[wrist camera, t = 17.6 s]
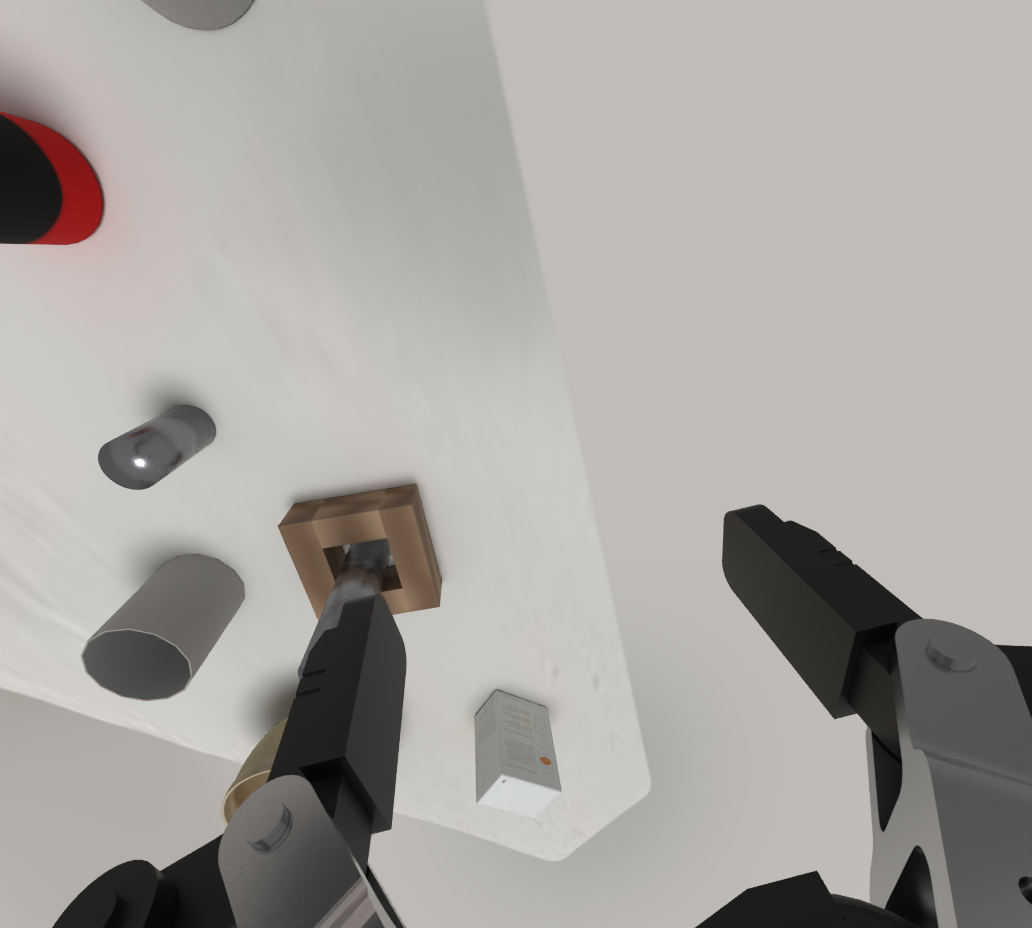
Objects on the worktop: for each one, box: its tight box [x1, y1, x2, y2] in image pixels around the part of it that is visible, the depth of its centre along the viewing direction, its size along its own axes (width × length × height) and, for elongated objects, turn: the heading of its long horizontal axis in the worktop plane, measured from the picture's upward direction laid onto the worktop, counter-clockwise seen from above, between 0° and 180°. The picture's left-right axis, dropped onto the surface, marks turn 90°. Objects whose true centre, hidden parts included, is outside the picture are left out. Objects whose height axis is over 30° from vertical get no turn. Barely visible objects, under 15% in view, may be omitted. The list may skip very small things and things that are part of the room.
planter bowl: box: [221, 717, 375, 836], centre depth 52 cm, size 16×16×11 cm
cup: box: [81, 554, 245, 701], centre depth 43 cm, size 8×8×10 cm
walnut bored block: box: [278, 484, 442, 621], centre depth 45 cm, size 12×12×4 cm
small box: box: [475, 690, 562, 818], centre depth 55 cm, size 8×6×10 cm
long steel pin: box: [298, 538, 391, 679], centre depth 40 cm, size 4×4×16 cm
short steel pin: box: [98, 405, 216, 490], centre depth 37 cm, size 4×4×8 cm
